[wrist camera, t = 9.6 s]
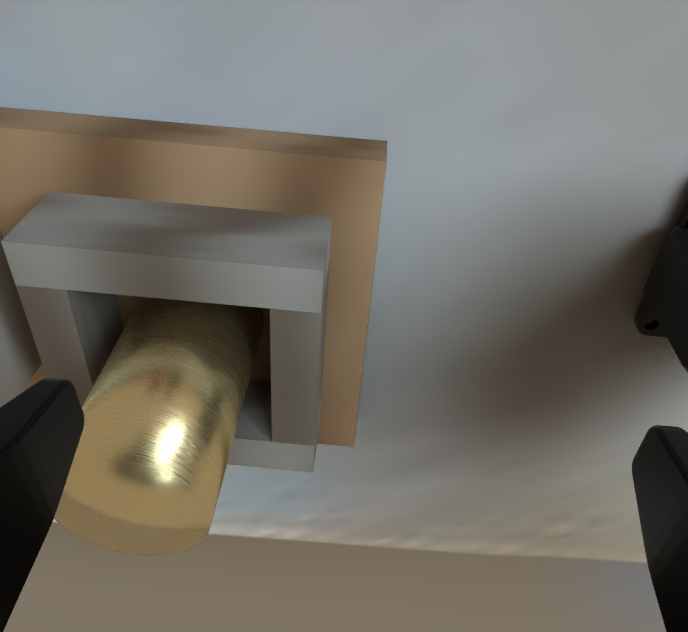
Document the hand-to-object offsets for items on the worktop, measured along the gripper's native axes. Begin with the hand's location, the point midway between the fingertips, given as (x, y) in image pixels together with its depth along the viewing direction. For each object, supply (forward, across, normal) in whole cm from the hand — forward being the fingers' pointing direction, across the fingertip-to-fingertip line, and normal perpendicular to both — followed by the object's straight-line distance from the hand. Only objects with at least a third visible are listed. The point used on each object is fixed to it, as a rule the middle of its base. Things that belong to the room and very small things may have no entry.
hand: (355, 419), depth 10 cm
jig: (+12, +9, +6) cm, 16 cm away
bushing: (+10, +6, +7) cm, 14 cm away
